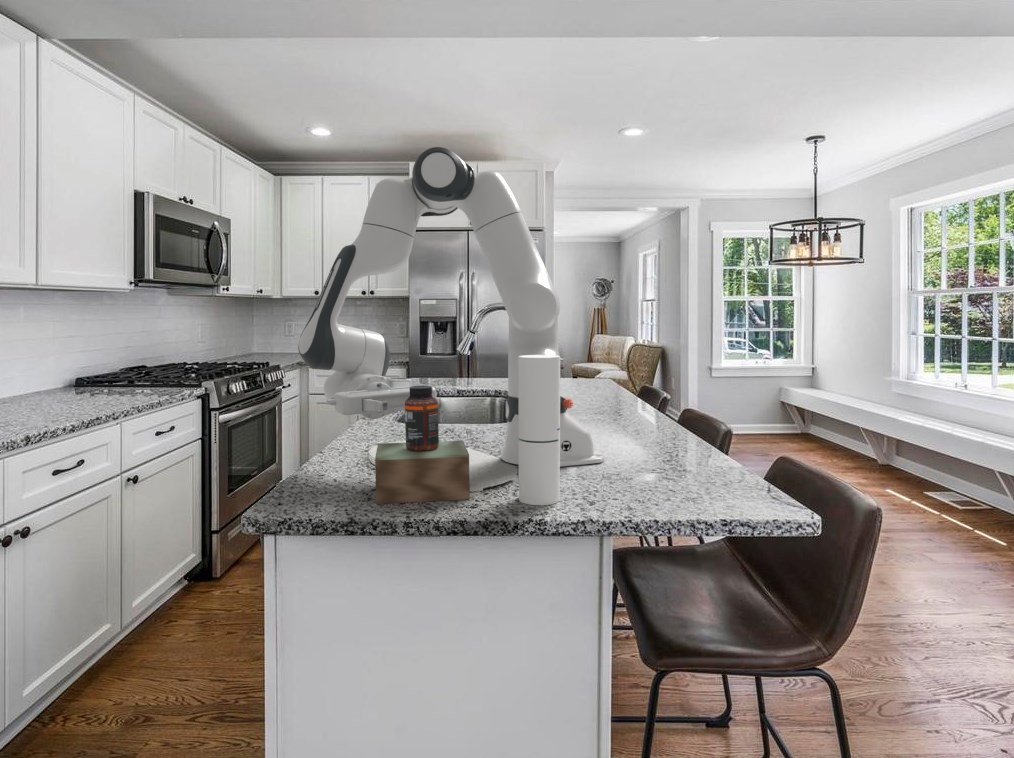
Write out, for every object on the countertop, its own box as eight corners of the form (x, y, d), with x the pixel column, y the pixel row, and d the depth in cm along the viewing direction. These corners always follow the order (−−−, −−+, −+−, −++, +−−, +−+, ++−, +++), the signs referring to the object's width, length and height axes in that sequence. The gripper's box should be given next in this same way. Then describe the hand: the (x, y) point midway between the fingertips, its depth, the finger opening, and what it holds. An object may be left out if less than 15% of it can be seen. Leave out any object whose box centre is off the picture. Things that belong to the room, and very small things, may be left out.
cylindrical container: (564, 495, 114) (564, 355, 111) (553, 507, 107) (554, 358, 104) (525, 491, 116) (525, 354, 113) (513, 503, 109) (512, 357, 107)
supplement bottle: (441, 445, 118) (440, 384, 117) (435, 452, 112) (434, 388, 111) (410, 444, 119) (408, 384, 118) (401, 451, 113) (400, 388, 112)
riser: (463, 481, 123) (462, 440, 123) (469, 499, 112) (469, 454, 111) (379, 485, 121) (378, 443, 120) (376, 503, 109) (375, 457, 108)
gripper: (321, 384, 122) (354, 391, 112) (414, 377, 135) (451, 383, 124) (323, 417, 123) (355, 427, 112) (415, 407, 136) (451, 415, 125)
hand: (406, 404), depth 118 cm, fingers open, 8 cm apart
